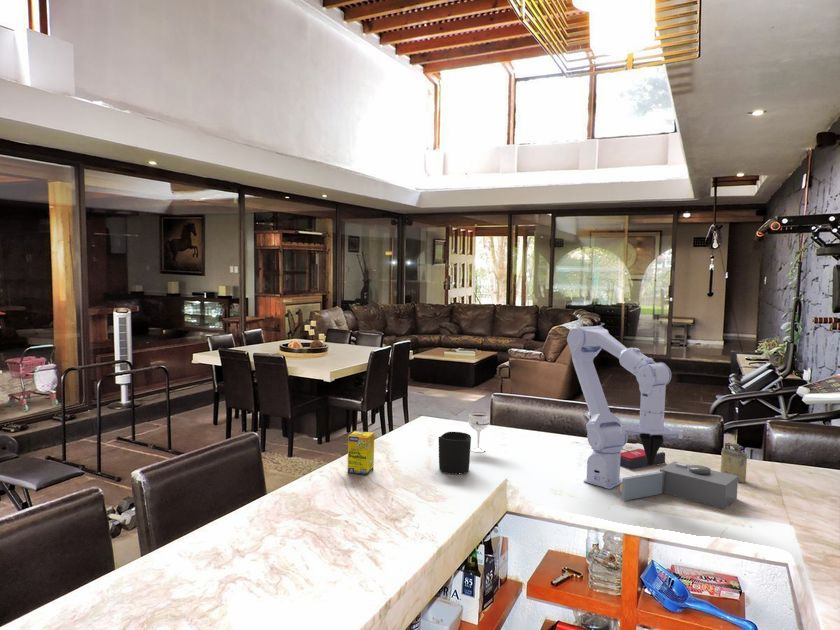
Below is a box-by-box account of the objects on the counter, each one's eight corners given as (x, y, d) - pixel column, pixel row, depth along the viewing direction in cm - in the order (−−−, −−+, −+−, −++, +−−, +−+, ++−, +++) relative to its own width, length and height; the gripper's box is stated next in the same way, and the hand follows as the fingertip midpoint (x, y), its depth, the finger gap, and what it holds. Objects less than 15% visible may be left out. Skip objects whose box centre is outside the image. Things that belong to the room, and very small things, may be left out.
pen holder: (475, 473, 162) (476, 438, 162) (445, 476, 159) (446, 441, 158) (461, 463, 171) (462, 430, 170) (432, 466, 167) (433, 433, 167)
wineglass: (464, 448, 186) (465, 412, 186) (483, 447, 188) (484, 411, 188) (472, 454, 180) (473, 417, 179) (492, 453, 182) (493, 416, 181)
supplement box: (347, 473, 160) (347, 435, 159) (354, 467, 165) (355, 430, 165) (367, 475, 158) (367, 437, 158) (373, 469, 164) (374, 431, 163)
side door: (619, 498, 144) (620, 477, 144) (658, 490, 150) (659, 470, 150) (624, 500, 143) (625, 479, 142) (664, 493, 149) (665, 472, 148)
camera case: (724, 509, 139) (726, 481, 139) (658, 491, 150) (660, 465, 150) (736, 498, 146) (738, 472, 146) (673, 482, 157) (674, 457, 157)
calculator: (603, 448, 178) (637, 441, 184) (603, 462, 178) (637, 454, 185) (630, 458, 168) (665, 450, 174) (630, 472, 168) (665, 464, 175)
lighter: (748, 482, 159) (750, 447, 159) (740, 484, 157) (742, 448, 157) (724, 474, 166) (726, 440, 165) (716, 476, 164) (718, 442, 163)
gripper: (623, 412, 141) (621, 465, 142) (686, 416, 137) (683, 471, 138) (620, 406, 148) (618, 457, 148) (680, 410, 144) (678, 462, 145)
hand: (649, 463), depth 144 cm, fingers closed
